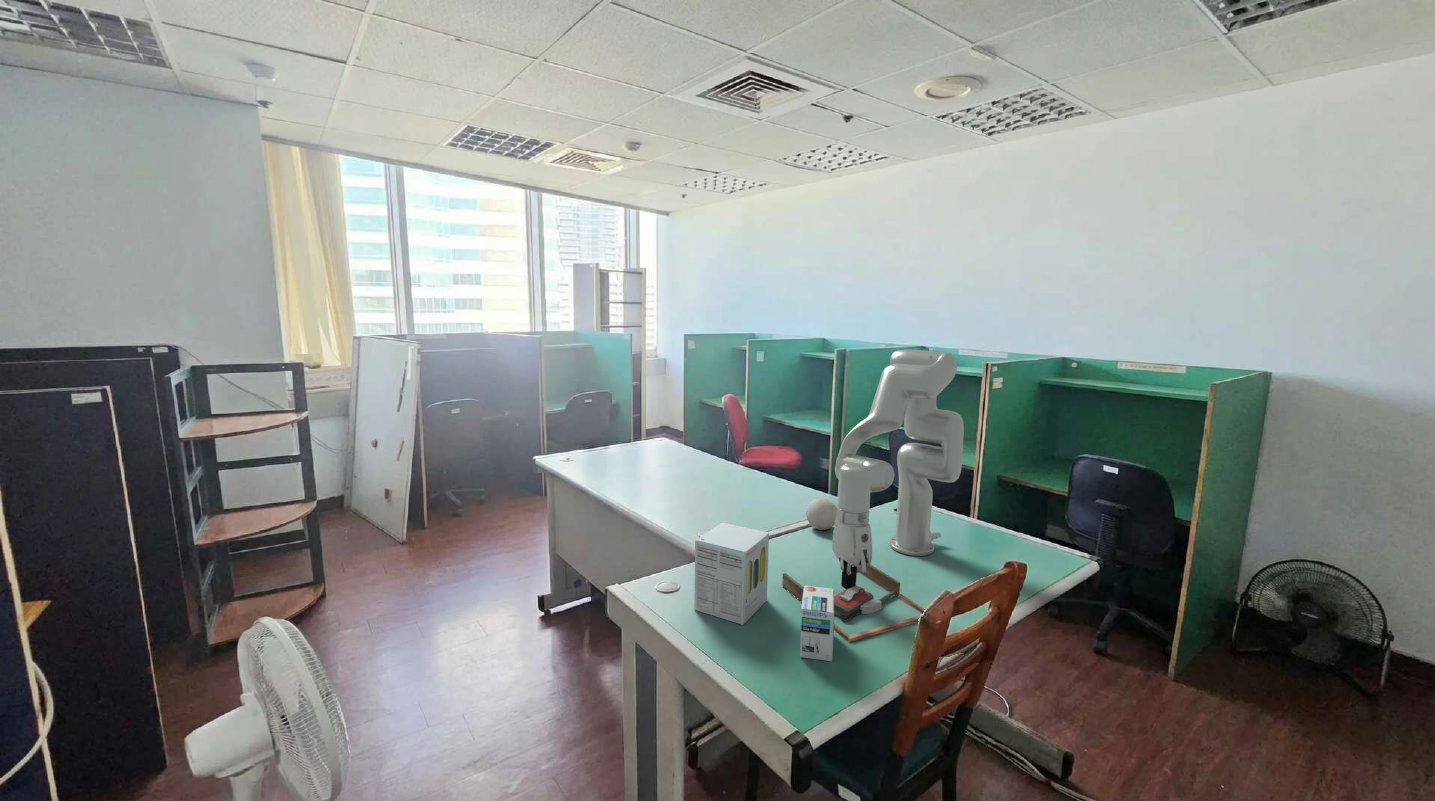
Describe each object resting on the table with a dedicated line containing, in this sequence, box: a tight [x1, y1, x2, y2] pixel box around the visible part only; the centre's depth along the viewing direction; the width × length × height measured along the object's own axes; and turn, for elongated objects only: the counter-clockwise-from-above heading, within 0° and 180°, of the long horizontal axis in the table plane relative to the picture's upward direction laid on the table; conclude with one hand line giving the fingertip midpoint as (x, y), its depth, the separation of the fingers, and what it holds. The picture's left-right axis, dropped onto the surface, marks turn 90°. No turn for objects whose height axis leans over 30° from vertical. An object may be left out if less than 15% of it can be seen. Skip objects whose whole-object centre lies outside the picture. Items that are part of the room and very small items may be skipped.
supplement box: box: [693, 522, 770, 626], centre depth 137 cm, size 13×13×18 cm
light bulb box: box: [799, 585, 836, 662], centre depth 122 cm, size 11×7×11 cm, turn 168°
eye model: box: [805, 497, 837, 531], centre depth 185 cm, size 10×10×10 cm
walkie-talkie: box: [834, 584, 896, 622], centre depth 139 cm, size 9×4×20 cm
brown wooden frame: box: [781, 564, 927, 643], centre depth 140 cm, size 24×27×4 cm
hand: (848, 586), depth 142 cm, fingers closed
